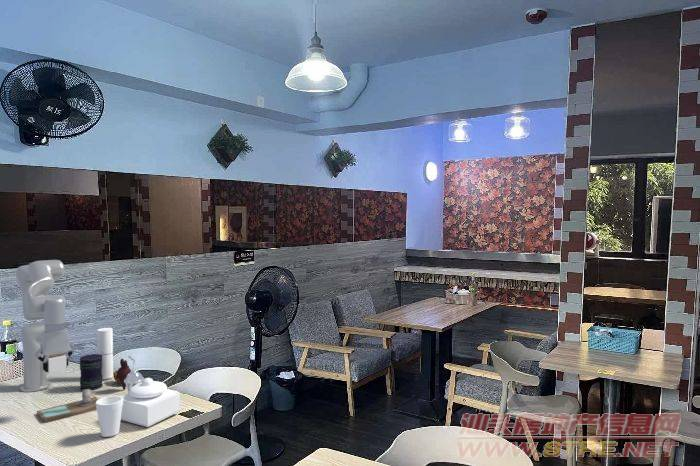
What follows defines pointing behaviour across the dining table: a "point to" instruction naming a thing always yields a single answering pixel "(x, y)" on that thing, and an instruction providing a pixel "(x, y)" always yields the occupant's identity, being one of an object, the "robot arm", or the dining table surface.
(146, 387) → the butter dish
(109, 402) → the foam cup
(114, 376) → the hot dog
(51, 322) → the robot arm
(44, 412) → the post stand
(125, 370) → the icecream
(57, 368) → the white cube with handle
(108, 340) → the cylindrical container
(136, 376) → the cup with straw
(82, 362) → the storage jar
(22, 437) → the dining table surface
